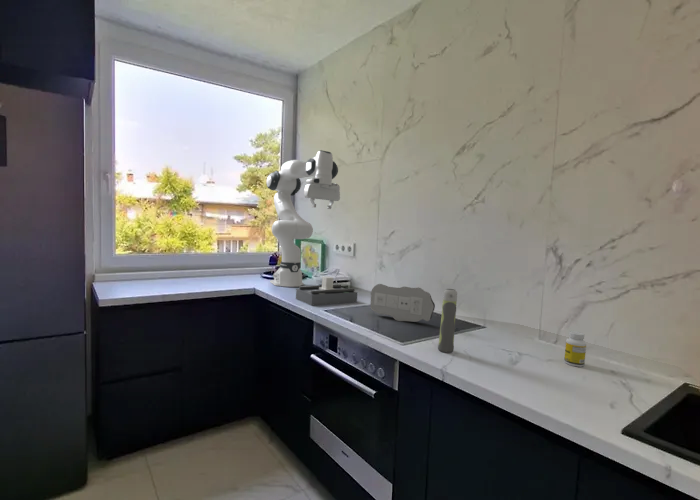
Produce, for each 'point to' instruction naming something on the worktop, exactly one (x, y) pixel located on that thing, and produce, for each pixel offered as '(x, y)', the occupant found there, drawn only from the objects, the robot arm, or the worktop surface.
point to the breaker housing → (325, 295)
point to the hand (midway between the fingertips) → (321, 208)
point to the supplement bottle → (575, 349)
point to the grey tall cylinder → (448, 321)
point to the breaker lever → (327, 283)
